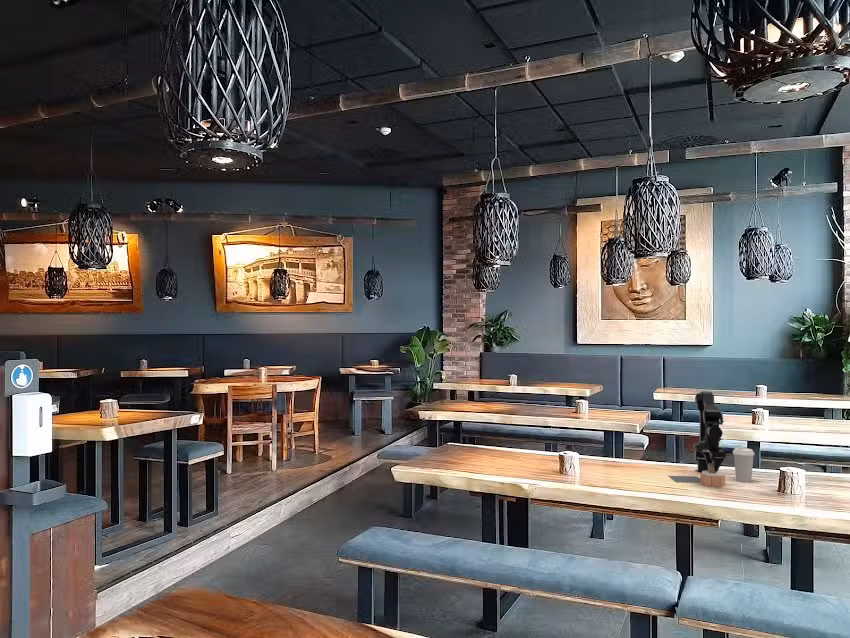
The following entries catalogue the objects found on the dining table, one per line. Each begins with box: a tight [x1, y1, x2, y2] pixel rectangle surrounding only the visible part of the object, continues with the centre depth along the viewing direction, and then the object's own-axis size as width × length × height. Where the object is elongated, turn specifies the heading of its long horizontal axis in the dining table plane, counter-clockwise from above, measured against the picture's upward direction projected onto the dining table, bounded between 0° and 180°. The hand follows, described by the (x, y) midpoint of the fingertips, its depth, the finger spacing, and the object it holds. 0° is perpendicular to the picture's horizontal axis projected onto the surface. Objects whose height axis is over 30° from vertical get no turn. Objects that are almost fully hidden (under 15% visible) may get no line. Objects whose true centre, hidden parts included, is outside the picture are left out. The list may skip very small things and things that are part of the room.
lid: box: [702, 462, 724, 477], centre depth 300 cm, size 9×9×5 cm
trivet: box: [667, 475, 701, 484], centre depth 310 cm, size 14×14×1 cm
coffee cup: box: [732, 447, 755, 483], centre depth 309 cm, size 10×10×15 cm
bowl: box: [699, 473, 726, 488], centre depth 300 cm, size 10×10×5 cm
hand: (712, 469), depth 300 cm, fingers open, 9 cm apart
